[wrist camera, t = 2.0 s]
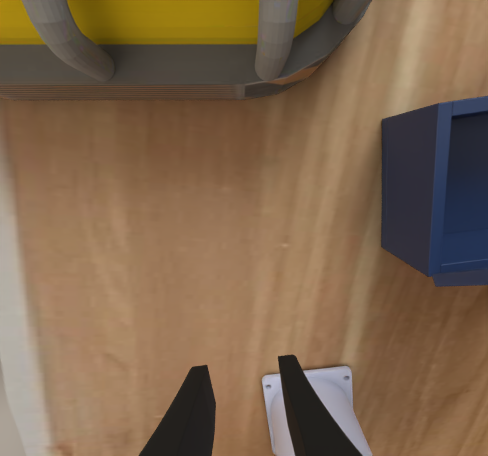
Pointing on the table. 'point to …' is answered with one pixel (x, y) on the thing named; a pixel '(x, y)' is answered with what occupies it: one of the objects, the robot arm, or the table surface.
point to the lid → (462, 278)
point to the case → (437, 186)
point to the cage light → (166, 47)
